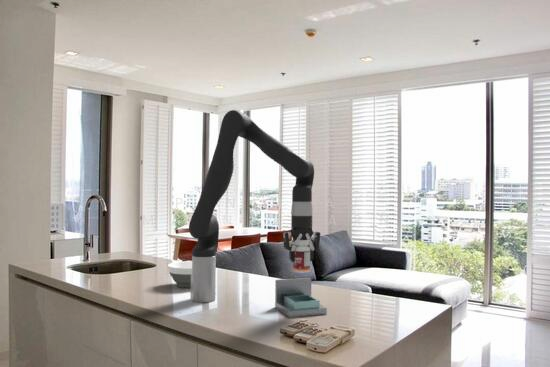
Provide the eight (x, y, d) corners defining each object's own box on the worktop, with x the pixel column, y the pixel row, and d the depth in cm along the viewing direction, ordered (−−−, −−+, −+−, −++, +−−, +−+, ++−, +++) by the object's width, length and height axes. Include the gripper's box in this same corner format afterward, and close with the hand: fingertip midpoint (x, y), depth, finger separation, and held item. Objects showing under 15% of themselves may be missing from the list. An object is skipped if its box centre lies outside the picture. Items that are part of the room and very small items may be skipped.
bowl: (158, 288, 192) (158, 266, 192) (183, 280, 210) (183, 260, 210) (196, 292, 185) (196, 269, 185) (219, 283, 203) (219, 262, 203)
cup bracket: (289, 317, 148) (289, 287, 148) (275, 307, 161) (275, 279, 162) (326, 313, 153) (326, 285, 153) (309, 304, 166) (310, 277, 166)
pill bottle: (289, 271, 156) (289, 239, 156) (299, 269, 161) (299, 238, 161) (303, 273, 152) (303, 240, 152) (313, 271, 157) (313, 239, 157)
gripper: (287, 215, 151) (286, 263, 151) (324, 214, 156) (324, 262, 156) (279, 214, 158) (279, 260, 158) (315, 213, 163) (315, 259, 163)
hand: (301, 261), depth 157 cm, fingers closed on pill bottle, 6 cm apart
